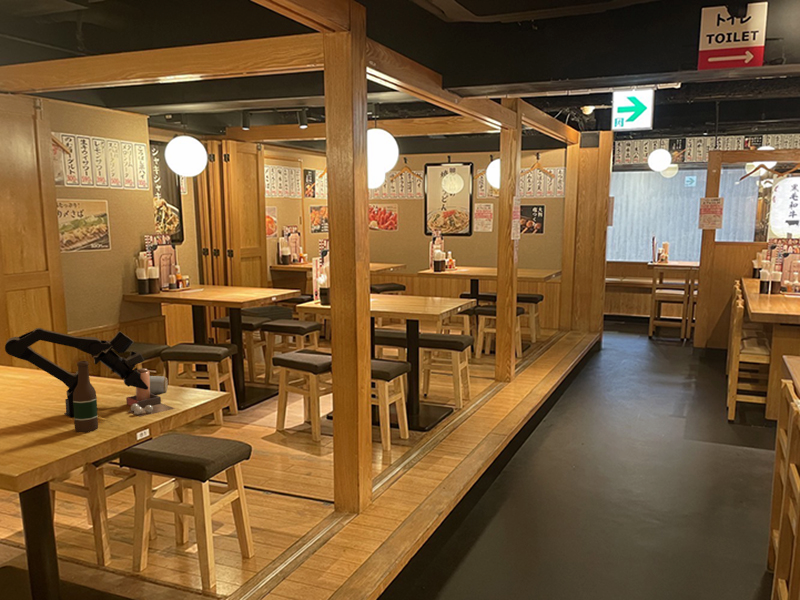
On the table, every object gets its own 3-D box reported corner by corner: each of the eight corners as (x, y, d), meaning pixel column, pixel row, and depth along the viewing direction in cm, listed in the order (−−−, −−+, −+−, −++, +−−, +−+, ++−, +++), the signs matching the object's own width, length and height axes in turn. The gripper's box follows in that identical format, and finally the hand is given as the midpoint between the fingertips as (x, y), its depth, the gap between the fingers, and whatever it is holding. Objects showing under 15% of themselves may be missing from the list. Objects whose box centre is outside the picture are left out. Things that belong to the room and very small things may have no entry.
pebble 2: (136, 416, 230) (136, 408, 229) (132, 414, 232) (132, 406, 231) (144, 414, 232) (144, 406, 232) (140, 412, 234) (140, 404, 234)
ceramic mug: (165, 395, 260) (165, 377, 259) (145, 396, 258) (144, 378, 258) (169, 389, 271) (168, 371, 270) (149, 390, 269) (148, 372, 268)
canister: (143, 404, 242) (142, 371, 240) (133, 402, 244) (132, 370, 242) (153, 401, 247) (152, 368, 245) (143, 399, 248) (142, 367, 247)
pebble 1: (133, 413, 233) (132, 405, 233) (129, 411, 235) (129, 403, 235) (141, 411, 236) (140, 403, 235) (137, 409, 238) (136, 402, 237)
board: (140, 418, 229) (139, 416, 229) (126, 413, 236) (126, 411, 236) (175, 410, 240) (175, 408, 240) (161, 405, 246) (161, 403, 246)
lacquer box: (138, 410, 239) (137, 401, 238) (126, 406, 245) (126, 397, 244) (160, 405, 246) (160, 396, 245) (149, 401, 252) (148, 392, 251)
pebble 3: (147, 414, 232) (146, 406, 231) (143, 413, 234) (142, 405, 233) (154, 412, 234) (154, 405, 234) (150, 411, 236) (150, 403, 236)
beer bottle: (92, 424, 223) (89, 358, 220) (103, 429, 218) (99, 361, 215) (69, 429, 217) (65, 361, 214) (80, 434, 212) (76, 365, 209)
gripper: (133, 350, 232) (165, 376, 239) (127, 342, 249) (157, 366, 255) (110, 373, 229) (144, 399, 236) (106, 363, 246) (137, 387, 252)
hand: (146, 387), depth 245 cm, fingers closed on canister, 5 cm apart
